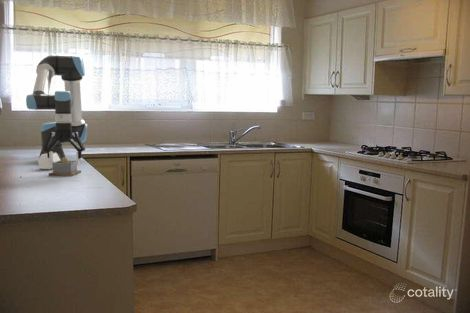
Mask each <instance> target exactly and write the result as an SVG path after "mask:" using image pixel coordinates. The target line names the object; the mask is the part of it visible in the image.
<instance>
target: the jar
mask: <svg viewBox="0 0 470 313" xmlns="http://www.w3.org/2000/svg"><path fill="white" fill-rule="evenodd" d="M39 156H40V155H39ZM57 161H62V158H61V156H60V154H58V153H56V152H53V163H54V162H57ZM36 162H37V164H38V165H39V167H40V168H41V170H53V165H50V163H49V158H48V157H47V153H45V154H41V156H40V158H39V157H38V160H37V161H36Z"/></svg>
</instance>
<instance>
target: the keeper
mask: <svg viewBox="0 0 470 313" xmlns="http://www.w3.org/2000/svg"><path fill="white" fill-rule="evenodd" d="M68 161H69V158H68V157H66V158H62V163H68ZM81 172H82V170H81V169H80V170H79V169H77V171H75V172H73V173H53V171H52V172H49V173H48V177H51V176H52V177H53V176H55V177H74V176H76V175H78V174H81Z"/></svg>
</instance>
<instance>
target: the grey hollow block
mask: <svg viewBox="0 0 470 313" xmlns="http://www.w3.org/2000/svg"><path fill="white" fill-rule="evenodd" d="M77 170H78V165H77V160H68V163H62V161H57V162H54V163H53V168H52V172H53V173H73V172H75V171H77Z"/></svg>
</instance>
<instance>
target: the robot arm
mask: <svg viewBox="0 0 470 313" xmlns="http://www.w3.org/2000/svg"><path fill="white" fill-rule="evenodd" d="M35 71H36V78H35V83H34V86H33V91H32V94H27V95H26V99H25V102H26V103H25V104H26V108H27V109H28V110H33V111H34V110H35V111H39V110H40V111H41V110H44V111H45V110H47V111H49V110H50V111H51V110H54V111H55V113H54V114H55V115H54V117H55V121H52V122H46V123H45V122H44V123H42V124H41V126H40V128H41V129H40V133H41V134H40V135H41V136H40V137H41V149H40V153H39V156H38V159H39V158H40V156H41V154H45V153H47V157H48V158H49V163H50V165H53V152H56V153H58V154H60V156H61V158H67V157H66V153H65V152H64V149H63V144H71V145H72V146H73V148H74V149H75V150H76V152H75V156H76V161H77V166H80V165H81V159H82V157H83V156H82V155H83V154H82V152H85V150H86V147H85V146H84V143H85V142H86V140H87V134H88V132H87V131H88V123H86V122H85V120H84V118H83V112H82V111H83V110H82V98H81V97H82V94H81V81H82V80H83V77H85V75H86V70H85V64H84V60H83V57H82V55H75V54H50V55H47V56H46V57H44V58H43V59H41V60H40V62H39V63H38V64H37V65H36V70H35ZM54 76H60V77H61V80H62V81H63V82H64V90H55V92H54V94H50V89H51V84H52V78H53V77H54Z"/></svg>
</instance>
